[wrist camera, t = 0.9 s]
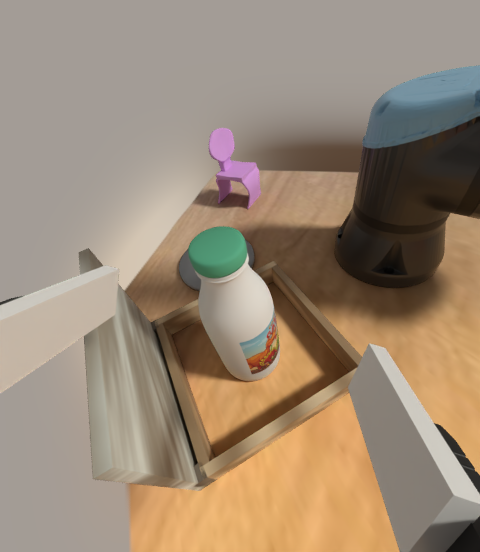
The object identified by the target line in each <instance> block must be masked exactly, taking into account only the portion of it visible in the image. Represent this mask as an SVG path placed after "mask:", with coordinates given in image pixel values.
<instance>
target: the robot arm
mask: <svg viewBox="0 0 480 552" xmlns="http://www.w3.org/2000/svg"><path fill="white" fill-rule="evenodd" d="M450 213H454V214H459V215H463V216H468V217H473V218H477V219H480V66H470V67H463V68H456V69H451V70H446V71H441V72H436V73H432V74H428V75H425V76H421V77H418V78H416V79H412V80H410V81H407V82H404V83H402V84H400V85H398V86H396V87H394V88H392V89H390V90H389V91H387V92H386V93H385V94H383V95H382V96H381V97H380V98H379V99H378V100H377V102H376V103H375V105H374V106H373V108H372V111H371V115H370V119H369V123H368V128H367V132H366V135H365V136H364V139H363V151H362V157H361V162H360V168H359V174H358V180H357V186H356V192H355V197H354V203H353V208H352V209H351V211H350V213H349V214H348V216H347V218H346V219H345V221H344V223H343V224H342V226H341V228H340V229H339V231H338V233H337V236H336V241H335V256H336V259H337V261H338V263H339V264H340V265H341V267H342V268H343V269H344V270H345V271H346V272H348V273H349V274H350V275H352V276H353V277H355V278H357V279H359V280H361V281H363V282H366V283H369V284H372V285H376V286H382V287H391V288H398V287H408V286H413V285H416V284H419V283H421V282H423V281H425V280H427V279H428V278H430V277H431V276H432V275H433V274H434V273H435V271H436V270H437V268H438V266H439V264H440V263H441V261H442V259H443V256H444V244H445V224H446V220H447V218H448V216H449V214H450ZM118 277H119V269H117V268H114V267H111V266H107V265H105V266H102V267H100V268H97V269H94V270H92V271H89V272H86V273H84V274H81V275H79V276H76V277H73V278H71V279H68V280H65V281H63V282H60V283H58V284H55V285H52V286H50V287H47V288H44V289H42V290H39V291H36V292H34V293H31V294H29V295H26V296H21V297H16V298H11V299H9V300H6V301H3V302H0V393H2V392H3V391H5V390H6V389H8V388H9V387H11V386H12V385H13V384H15V383H16V382H18V381H19V380H21V379H22V378H24V377H25V376H27V375H28V374H29V373H31V372H32V371H34V370H35V369H37V368H38V367H40V366H41V365H43V364H44V363H45V362H47V361H48V360H50V359H51V358H53V357H54V356H55V355H57V354H58V353H60V352H61V351H63V350H64V349H66V348H67V347H69V346H70V345H72V344H73V343H74V342H76V341H77V340H79V339H80V338H82V337H83V336H85V335H86V334H88V333H89V332H91V331H92V330H93V329H95V328H96V327H98V326H99V325H101V324H102V323H104V322H105V321H107V320H108V319H109V318H111V317H112V316H114V315H115V314H116V302H117V290H118ZM348 390H349V393H350V396H351V399H352V402H353V405H354V409H355V412H356V415H357V418H358V421H359V424H360V427H361V431H362V434H363V437H364V440H365V443H366V446H367V449H368V453H369V456H370V459H371V462H372V465H373V468H374V472H375V475H376V478H377V481H378V484H379V487H380V490H381V494H382V497H383V500H384V503H385V506H386V509H387V512H388V516H389V519H390V522H391V525H392V528H393V531H394V534H395V538H396V541H397V544H398V547H399V550H400V552H480V475H479V474H478V473H477V472H476V471H475V470H474V469H475V468H474V467H473V465H472V464H471V462H470V461H469V459H468V458H466V457H465V456H466V455H465V454H464V452H463V451H462V449H461V448H460V446H459V445H458V444H457V442H456V441H455V439H454V438H453V437H452V436H451V435H450V434H449V433H448V432H447V431H446V430H445V429H444V428H443V427H442V426H441V425H438V424H435V423H433V421H432V420H431V418H430V417H429V415H428V414H427V412H426V410H425V409H424V407H423V406H422V404H421V403H420V401H419V400H418V398H417V397H416V395H415V393H414V392H413V390H412V389H411V387H410V386H409V384H408V383H407V381H406V380H405V378H404V376H403V375H402V373H401V372H400V370H399V369H398V367H397V366H396V364H395V362H394V361H393V359H392V358H391V356H390V355H389V353H388V352H387V350H386V349H385V348H383V347H380V346H377V345H373V344H370V343H369V344H368V347H367V349H366V351H365V353H364V355H363V357H362V359H361V361H360V363H359V365H358V367H357V370H356V372H355V374H354V376H353V378H352V380H351V382H350V384H349V386H348Z"/></svg>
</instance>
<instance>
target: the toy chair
mask: <svg viewBox="0 0 480 552" xmlns="http://www.w3.org/2000/svg"><path fill="white" fill-rule="evenodd" d="M234 149H235V147H234V138H233V134H232V132H231V131H230V130H229V129H226V128H219V129H216V130H214V131H213V132H212V133H211V135H210V140H209V152H210V155H211V157H212V158H213V159H215V160H218V161H219V165H220V168H221V171H220V172H218V173H217V174H216V177H217V179H216V182H217V185H218V187H219V200H218V204H219V203H220V202H221V201H222V200H223V199H224V198H225V197H226V196H227V195H228V194H229V193H230V192H231V191H232V186H231V182H230V180H232V181H237V182H240V183H242V184H243V185H244V186H245V188H246V189H247V190H248V193H249V201H248V206H247V209H249V208H250V206H251V205H252V204H253V203H254V202H255V200H256V199H257V198H258V197H259V196H260V194H261V191H260V182H259V170H258V168H257V167H256V163H252V162H238V161H231V159H230V156H231V154H232V152H233V151H234Z"/></svg>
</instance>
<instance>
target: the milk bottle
mask: <svg viewBox="0 0 480 552" xmlns="http://www.w3.org/2000/svg"><path fill="white" fill-rule="evenodd" d="M188 256H189V259H190V262H191V264H192V266H193V268H194V269H195V272H196V274H197V276H198V277H199V278H200V279H201V288H200V293H199V300H198V306H199V314H200V317H201V321H202V323H203V326H204V328H205V330H206V332H207V334H208V336H209V338H210V340H211V342H212V344H213V345H214V347H215V349H216V351H217V353H218V354H219V356H220V358H221V360H222V362H223V363H224V365H225V367H226V368H227V370H228V371H229V372H230V373H231V374H232V375H233V376H234V377H236V378H238V379H240V380H243V381H257V380H260V379H263V378H265V377H266V376H268V375H269V374H270V373H271V372H272V371H273V370H274V369H275V368H276V366H277V364H278V361H279V358H280V345H279V337H278V330H277V323H276V316H275V310H274V305H273V300H272V297H271V294H270V291H269V289H268V287H267V285H266V284H265V282H264V281H263V280H262V278H261V277H260V276H259V275H258V274H257V273H256V272H254V271H253V270H252V269H251V268H250V266H249V265H248V261H249V256H248V253H247V247H246V242H245V239H244V237H243V235H242V234H241V233H240V232H239V231H238V230H236V229H234V228H231V227H214V228H210V229H208V230H205V231H203V232H201V233H200V234H198V235H197V236H196V237H195V238H194V239H193V240H192V241H191V243H190V245H189V248H188Z"/></svg>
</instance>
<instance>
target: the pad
mask: <svg viewBox="0 0 480 552" xmlns="http://www.w3.org/2000/svg"><path fill="white" fill-rule="evenodd" d="M245 242H246V247H247V253H248V256H249V261H248V265H249V266H250V268H251V269H252V268H253V265H254V260H255V258H254V251H253V248H252V246H251V245H250V243H249V242H248V241H247V240H245ZM179 272H180V275H181V277H182V279H183V281H184V282H185V283H186V285H188V286H189V287H190V288H192V289H194V290H197V291H200V288H201V279H200V278H199V277H198V276H197V274H196V272H195V269H194V268H193V266H192V264H191V262H190V259H189V256H188V250H187V251H186V252H185V253H184V255H183V256H182V258H181V261H180V264H179Z"/></svg>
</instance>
